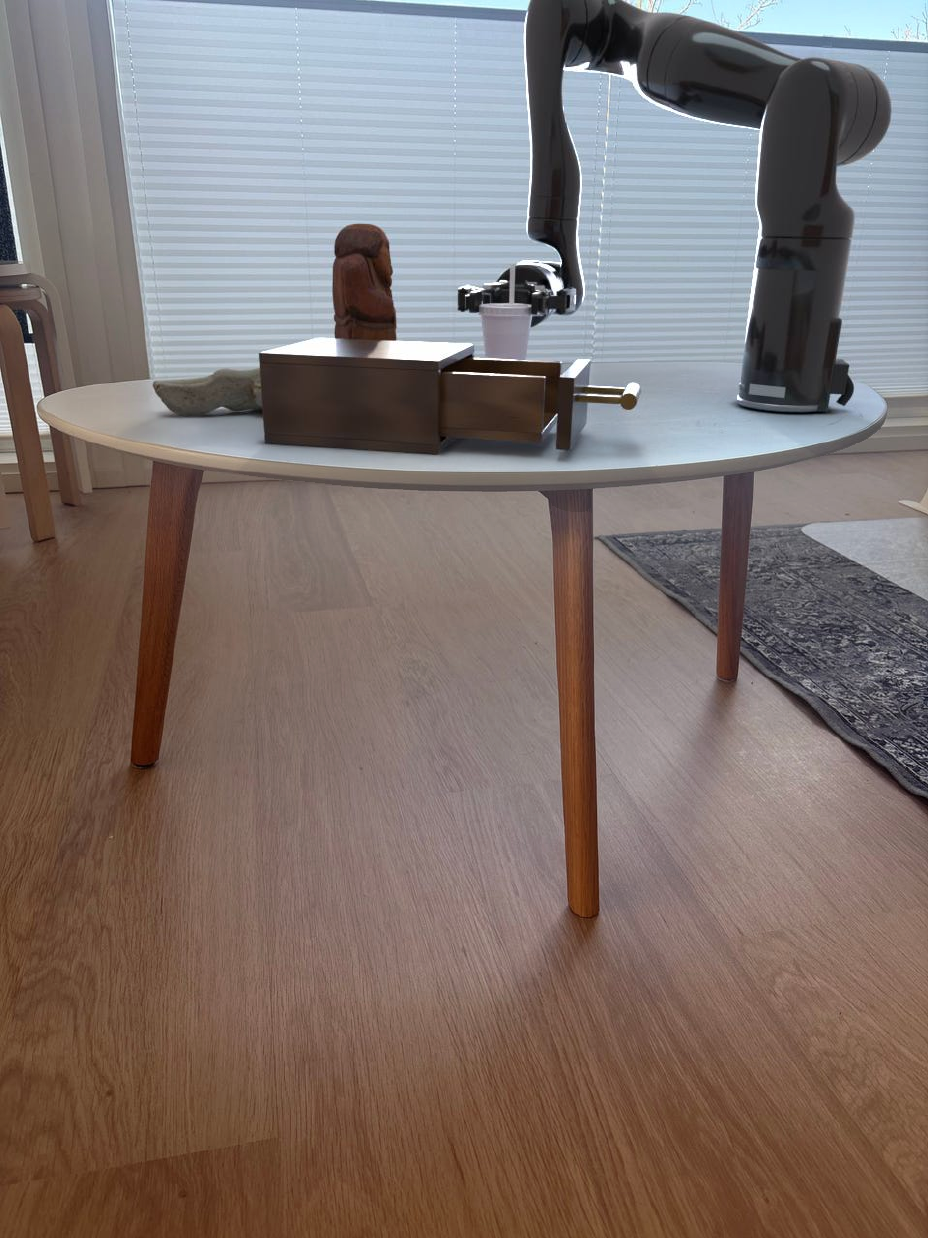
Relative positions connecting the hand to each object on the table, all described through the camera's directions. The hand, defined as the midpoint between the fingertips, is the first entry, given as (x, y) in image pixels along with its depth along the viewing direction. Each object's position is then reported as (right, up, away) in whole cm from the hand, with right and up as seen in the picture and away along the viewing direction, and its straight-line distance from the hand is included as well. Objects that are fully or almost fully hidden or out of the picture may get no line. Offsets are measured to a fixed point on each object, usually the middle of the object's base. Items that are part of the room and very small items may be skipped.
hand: (503, 303), depth 102 cm
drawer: (+1, -18, -20) cm, 27 cm away
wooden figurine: (-15, -10, +2) cm, 18 cm away
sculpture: (-28, -14, -8) cm, 32 cm away
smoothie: (0, -9, +6) cm, 10 cm away
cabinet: (-13, -18, -17) cm, 28 cm away
